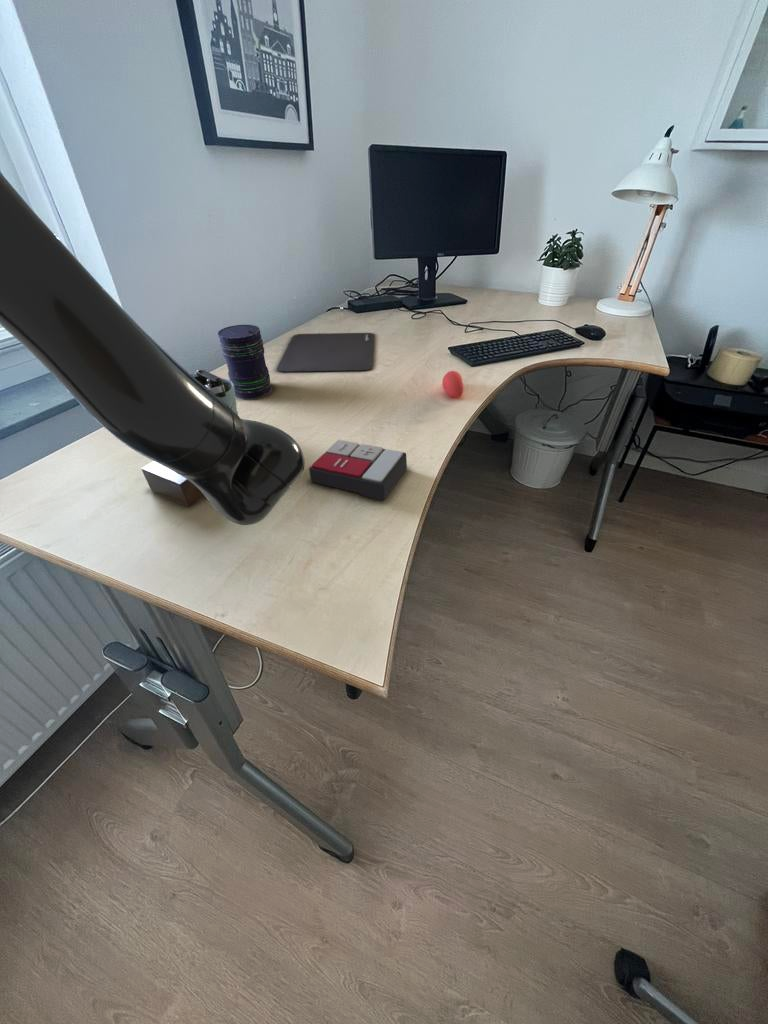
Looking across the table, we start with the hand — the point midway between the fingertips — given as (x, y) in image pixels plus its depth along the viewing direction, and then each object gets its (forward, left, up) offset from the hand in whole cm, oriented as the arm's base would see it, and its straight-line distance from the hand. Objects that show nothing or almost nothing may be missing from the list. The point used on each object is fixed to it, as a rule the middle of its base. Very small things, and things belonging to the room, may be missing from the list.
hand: (153, 379), depth 64 cm
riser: (0, +4, -22) cm, 22 cm away
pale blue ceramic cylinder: (+9, +17, -22) cm, 29 cm away
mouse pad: (+50, +53, -22) cm, 76 cm away
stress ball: (+65, +10, -22) cm, 69 cm away
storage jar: (+22, +38, -22) cm, 49 cm away
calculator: (+28, -10, -22) cm, 37 cm away
